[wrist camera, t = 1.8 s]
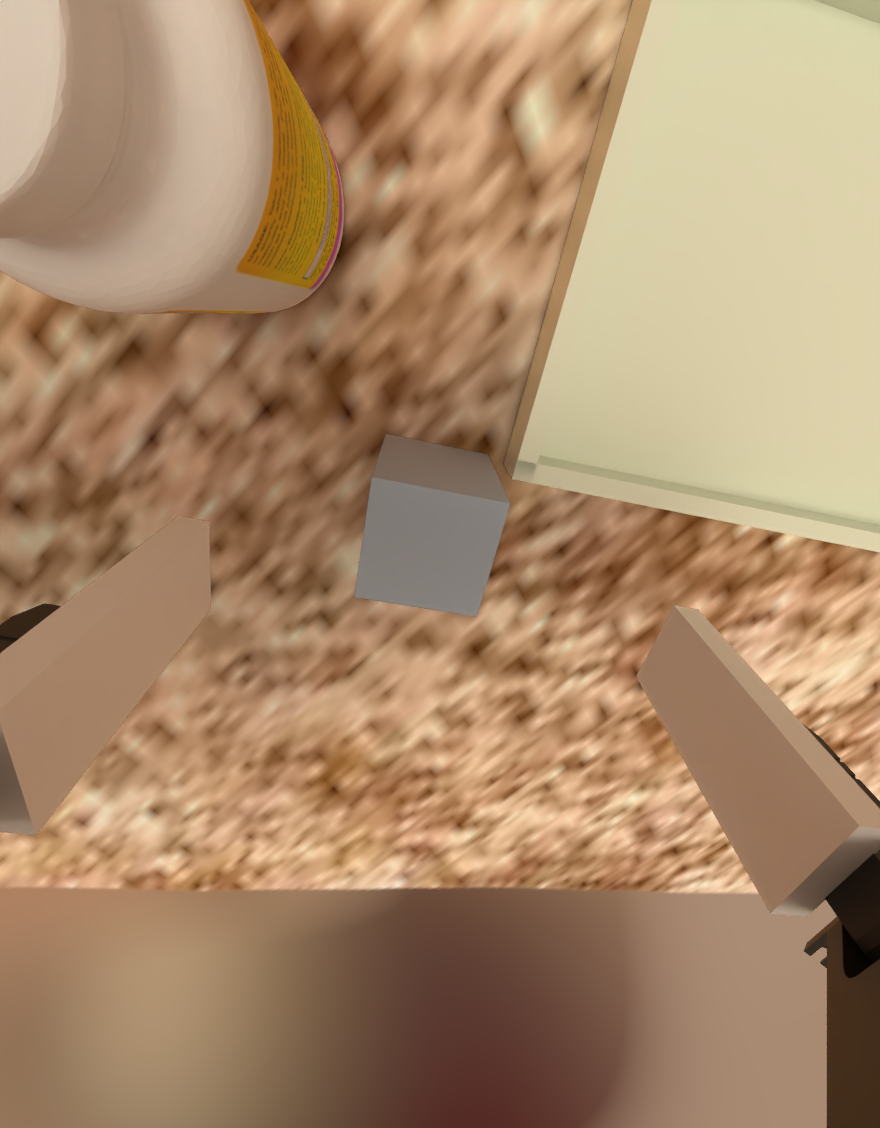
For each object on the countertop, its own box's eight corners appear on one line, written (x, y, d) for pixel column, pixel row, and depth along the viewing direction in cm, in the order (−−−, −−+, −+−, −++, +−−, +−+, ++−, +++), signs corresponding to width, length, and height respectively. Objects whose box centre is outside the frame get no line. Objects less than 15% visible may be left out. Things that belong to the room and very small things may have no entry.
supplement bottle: (287, 25, 14) (-324, -1271, 3) (378, 270, 17) (284, 182, 6) (101, 127, 15) (-954, -487, 3) (219, 342, 18) (-139, 390, 6)
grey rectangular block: (371, 528, 22) (354, 597, 16) (386, 433, 20) (371, 477, 14) (464, 545, 22) (476, 616, 17) (488, 454, 20) (510, 503, 15)
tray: (503, 463, 20) (511, 479, 18) (656, -85, 13) (696, -155, 11) (893, 542, 23) (936, 563, 21) (1206, 118, 15) (1318, 90, 14)
